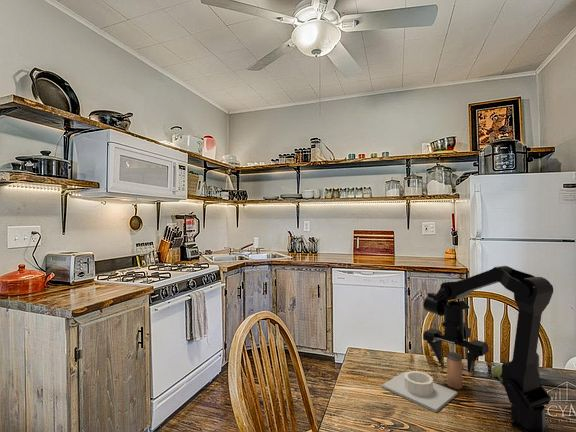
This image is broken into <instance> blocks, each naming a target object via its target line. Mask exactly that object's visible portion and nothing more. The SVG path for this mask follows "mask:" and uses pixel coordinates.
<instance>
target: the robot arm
mask: <svg viewBox="0 0 576 432" xmlns="http://www.w3.org/2000/svg"><path fill="white" fill-rule="evenodd" d="M499 283H500V284H501V285H502V286H503V287H504V289H506V290H508V291H509V292H511V293H513V300H514V303H515V304H516V306H517V308H518V313H517V322H516V328H515V329H516V330H515V336H514V337H515V338H514V346H513V354H512V359H511V360H510V361H507V362H504V363H502V365H501V366H502V374H501V376H500V378H502V381H501V383H502V386H503V388H504V389H505V392H506V396H507V398H508V402H509V403H510V404H511V405H510V417H511V421H512V422H511V427H514V428H516V429H517V430H520V431H523V432H547V430H548V428H549V426H548V425H547V423H546V422H547V421H546V405H549V404H550V402H551V400H552V398H551V396H550V395H549V393H548V392H547V391H546V390H545V388H544V387H543V386H542V384H541V380H540V379H541V378H540V377H539V373H538V371H537V369H536V366H535V359H536V352H537V350H538V343H539V335H540V327H541V320H542V315H543V312H544V311H545V310H546V308H547V307H548V305H549V304H550V302H551V300H552V295H553V294H554V286H553V284H552V283H551V282H550V281H549V280H548V279H547V278H545V277H541V276H535V275H533V274H530V273H527V272H524V271H521V270H517V269H515V268H513V267H510V266H508V265H501V266H494V267H493V268H491V269H488V270H486V271H483V272H480V273H478V274H475V275H472V276H470V277H466V278H465V279H460V280H454V281H453V280H452V281H451V280H450V281H444V282H441V284H440V287H439V290H438V291H437V293H434V292H429V293H427V297H425V299H424V301H423V305H422V306H423V309H424V310H425V311H426V312H428V313H431V314H434V315H437V316H440V317H443V322H442V323H441V324H442V327H443V330H444V331H443V332H442V331H441V330H439V329H436V328H430V329H427V330H424V331H423V334H422V340H424V341H426V343H427V344H429V346H430V348H431V350H433V353H434V355H435V357H436V359H437V361H438V363H439V364H441V363H443V352H442V351H443V349H442V344H443V342H446V343H449V344H454V345H457V346H460V347H463V348H467V351H468V352H467V353H466V359H467V361H466V364H467V372H468V373H469V374H470V373H471V372H472V370H473V368H474V365H475V362H476V360H477V359H478V358H479V357H483V356H484V355H486V354H487V353H488V352H490V349H489V347H490V346H489V345H488V343H487V342H485V341H482V340H478V339H473V340H471V341H467V339H468V338H469V339H471V336H472V328H470V327H466V322H464V310H467V309H470V305H468V304H467V303H466V302H465V300H459V301H457V300H458V299H464V298H466V297H467V296H470V295H471V294H472V292H474V291H476V290H480V289H482V288H486V287H488V286H491V285H494V284H499ZM455 300H456V301H455ZM537 353H538V352H537Z"/></svg>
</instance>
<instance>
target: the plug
mask: <svg viewBox="0 0 576 432" xmlns="http://www.w3.org/2000/svg"><path fill="white" fill-rule="evenodd" d="M462 357H463V356H462V354H460V353H457V352H453V351H450V352H447V353H446V383H447V386H448V388H450V389H453V390H454V389H456V390H460V389H462V388H463V359H462Z"/></svg>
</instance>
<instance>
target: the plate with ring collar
mask: <svg viewBox="0 0 576 432" xmlns="http://www.w3.org/2000/svg"><path fill="white" fill-rule="evenodd" d="M381 388H382V389H384V390H385V391H388V392H390V393H393V394H395V395H398V396H400V397H401V398H404V399H406V400H408V401H411V402H412V403H414V404H417V405H418V406H421V407H423V408H426V409H428V410H430V411H432V412H434V413H437V412H438V411H440V410H441V409H442V408H443V407H445V406H446V405H447V404H448V403H449V402H450V401H452V400H453V399H454V398H455V397H457V396H458V391H456V390H454V389H452V388H449V387H446V386H443V385H441V384H438V383H436V382H434V378H433V377H432V376H431V375H430V374H429V373H425V372H424V371H423V372H422V371H416V370H415V371H413V370H412V371H403V372H402V373H400V374H398V375H396V376H395V377H393V378H391V379H390V380H387V381H386V382H384V383H383V384H381Z"/></svg>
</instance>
